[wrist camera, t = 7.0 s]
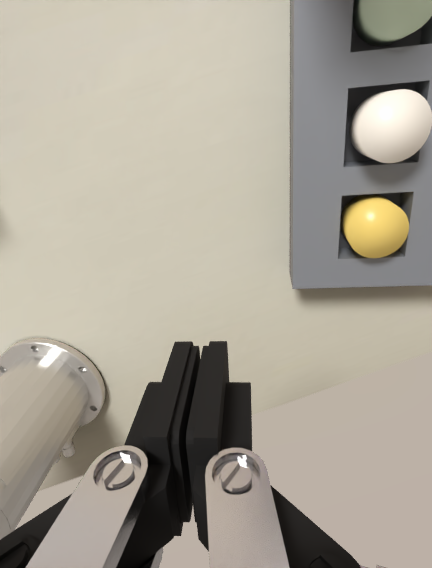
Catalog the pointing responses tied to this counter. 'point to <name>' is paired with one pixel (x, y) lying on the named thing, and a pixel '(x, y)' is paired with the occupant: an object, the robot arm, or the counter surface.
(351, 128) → the ivory button
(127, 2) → the counter surface
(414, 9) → the sage button
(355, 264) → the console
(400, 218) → the mustard button
